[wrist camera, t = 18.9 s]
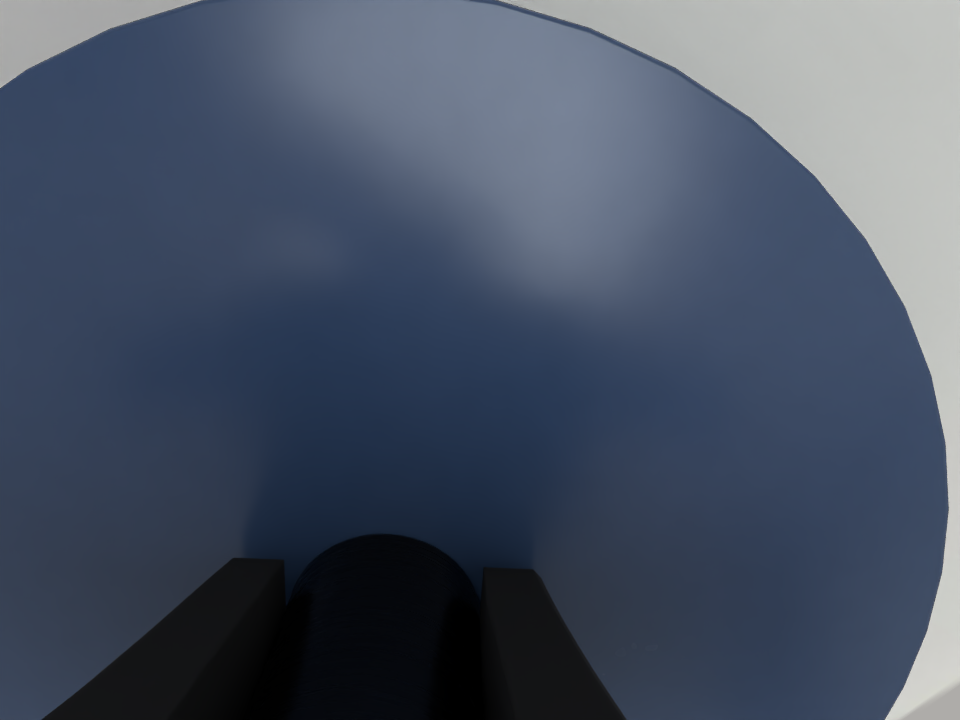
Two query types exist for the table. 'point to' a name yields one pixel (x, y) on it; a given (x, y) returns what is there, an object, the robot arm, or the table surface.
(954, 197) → the table surface
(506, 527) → the tin lid
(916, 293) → the table surface
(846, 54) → the table surface
